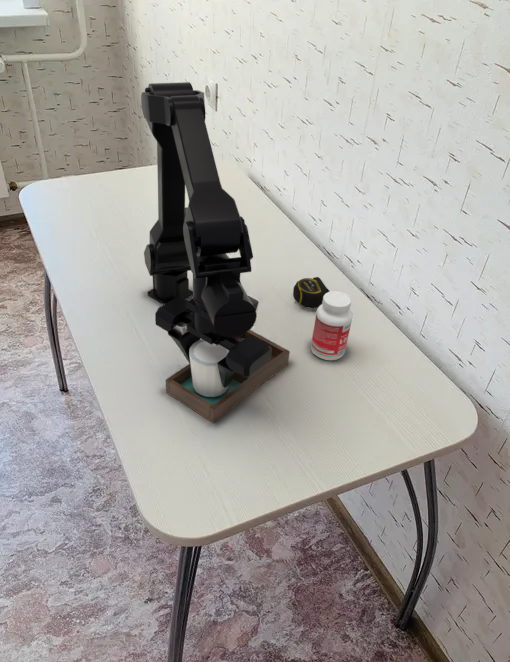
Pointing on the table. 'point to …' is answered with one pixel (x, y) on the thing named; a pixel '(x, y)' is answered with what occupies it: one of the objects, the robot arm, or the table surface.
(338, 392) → the table surface
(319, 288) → the tape measure
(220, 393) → the white cup
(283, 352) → the holder
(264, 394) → the table surface
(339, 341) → the pill bottle
